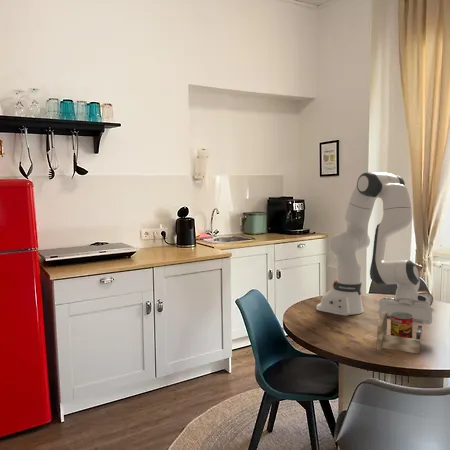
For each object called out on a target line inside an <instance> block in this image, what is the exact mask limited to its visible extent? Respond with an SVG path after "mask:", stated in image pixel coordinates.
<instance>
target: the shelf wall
mask: <svg viewBox="0 0 450 450" xmlns="http://www.w3.org/2000/svg"><path fill="white" fill-rule="evenodd" d="M376 332H377V333H376V334H377V335H376V350H377V351H382V350H383V349H387V350H394V351H400V352H406V353H412V354H413V353H414V354H420V351H421V348H420V340H419V339H416V338H413V337H412V338H406V337H399V336H392V335H391V334H388V319H387V312H384V311H383V313H382V315H381V316H380V317H379V318H378V320H377V328H376Z"/></svg>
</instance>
